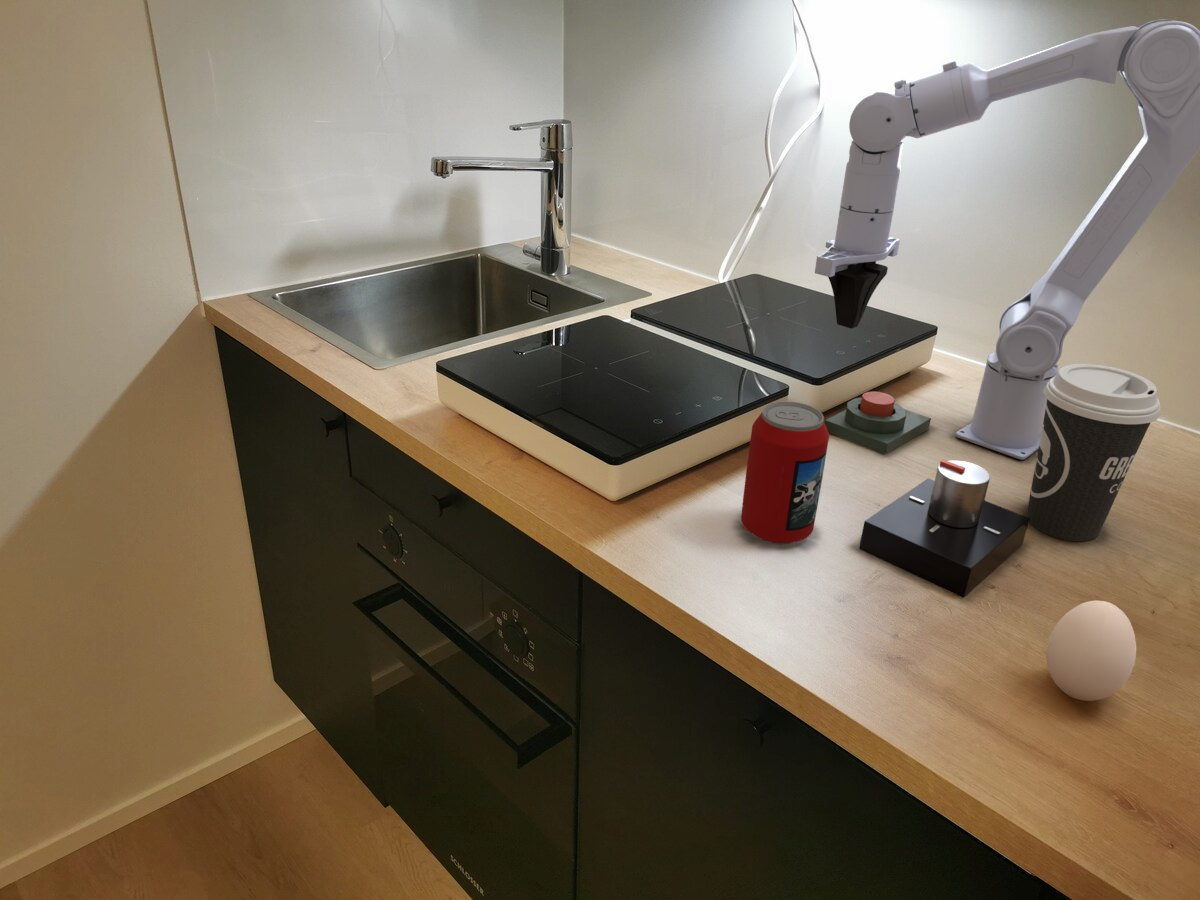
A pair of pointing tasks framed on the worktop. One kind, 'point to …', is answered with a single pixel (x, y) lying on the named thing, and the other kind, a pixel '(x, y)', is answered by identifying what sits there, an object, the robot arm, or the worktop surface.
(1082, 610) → the egg
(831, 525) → the worktop surface
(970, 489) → the knob
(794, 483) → the beverage can
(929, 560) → the panel
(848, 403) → the button block
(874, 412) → the button
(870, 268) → the robot arm
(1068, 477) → the coffee cup
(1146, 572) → the worktop surface
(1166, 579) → the worktop surface
